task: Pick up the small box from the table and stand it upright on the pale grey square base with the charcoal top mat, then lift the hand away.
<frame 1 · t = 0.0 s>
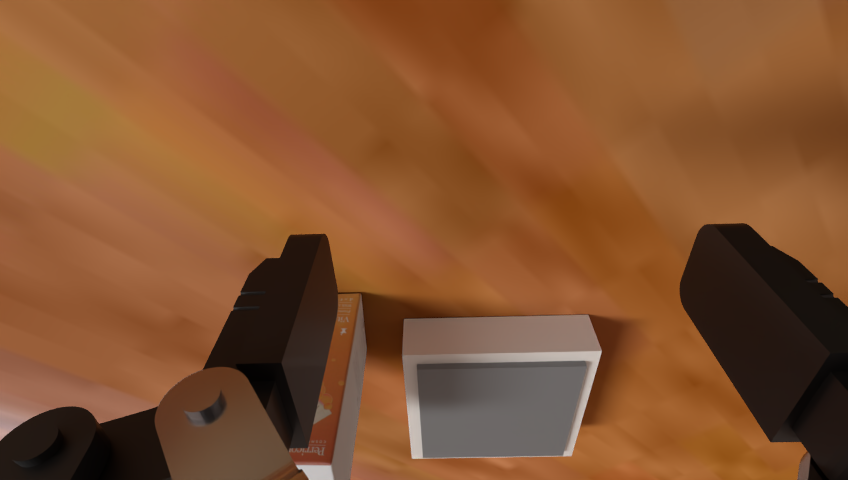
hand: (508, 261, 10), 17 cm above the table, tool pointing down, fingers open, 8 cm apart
stack base: (491, 374, 40), on the table
small box: (313, 318, 36), on the table
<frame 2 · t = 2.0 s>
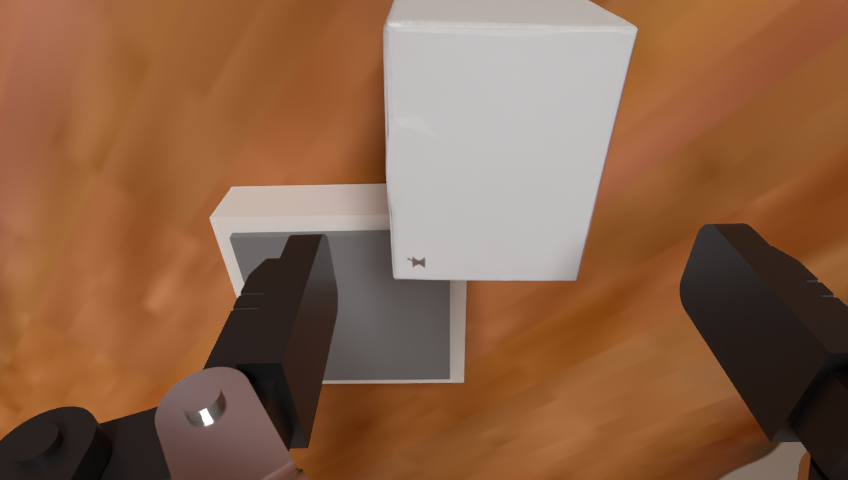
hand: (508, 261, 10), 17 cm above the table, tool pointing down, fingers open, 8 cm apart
stack base: (360, 275, 32), on the table
small box: (466, 58, 24), on the table
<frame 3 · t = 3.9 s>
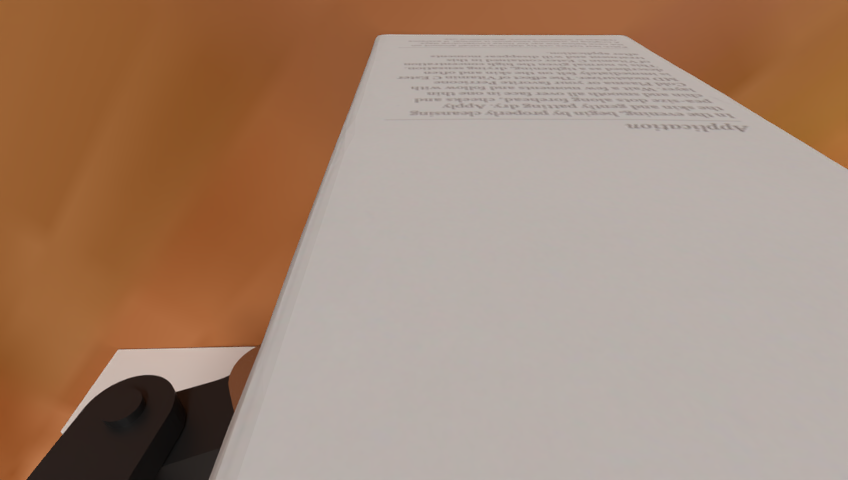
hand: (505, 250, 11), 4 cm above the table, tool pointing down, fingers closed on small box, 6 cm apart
stack base: (326, 449, 22), on the table
small box: (489, 172, 14), on the table, touching gripper
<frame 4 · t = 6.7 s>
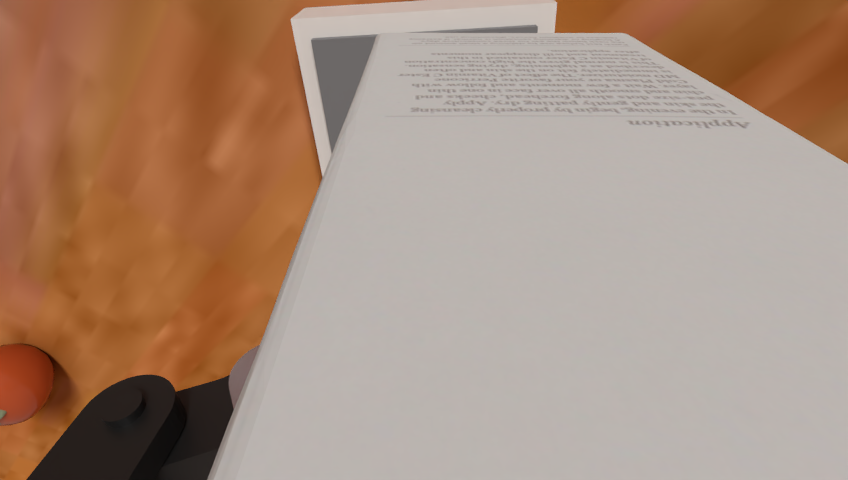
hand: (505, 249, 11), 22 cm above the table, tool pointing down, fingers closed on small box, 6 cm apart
stack base: (429, 116, 32), on the table
small box: (489, 170, 14), point 18 cm above the table, touching gripper
tomato: (31, 354, 46), on the table
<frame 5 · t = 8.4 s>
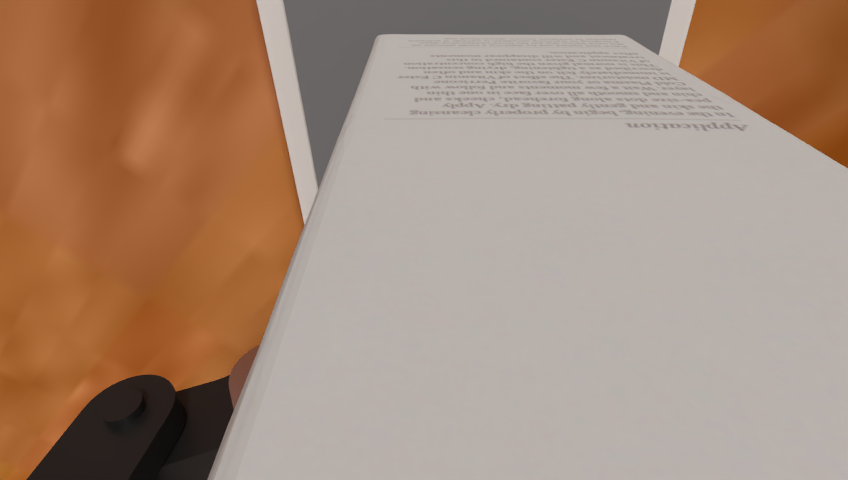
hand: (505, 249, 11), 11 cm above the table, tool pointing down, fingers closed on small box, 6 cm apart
stack base: (466, 91, 20), on the table
small box: (489, 171, 14), point 8 cm above the table, touching gripper
when the fingers open (9 cm above the table, at t = 9.8 s): small box drops 1 cm, resting on stack base.
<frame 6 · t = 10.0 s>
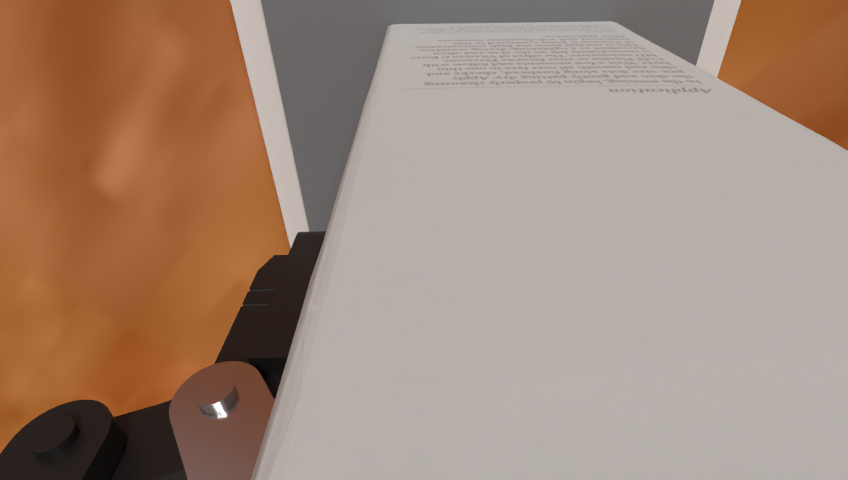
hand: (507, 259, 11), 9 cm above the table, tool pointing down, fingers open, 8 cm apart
stack base: (471, 111, 18), on the table
small box: (492, 151, 15), point 4 cm above the table, touching stack base
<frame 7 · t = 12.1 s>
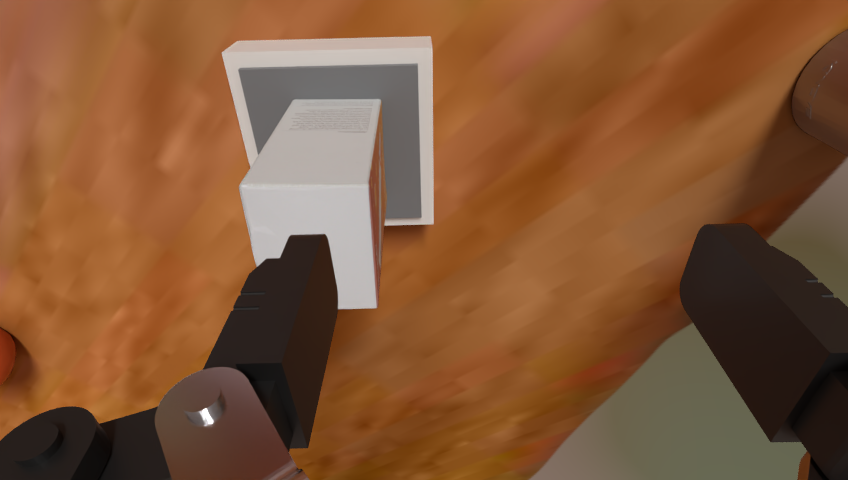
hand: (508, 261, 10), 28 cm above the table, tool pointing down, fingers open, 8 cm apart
stack base: (345, 130, 38), on the table
small box: (343, 149, 35), point 4 cm above the table, touching stack base
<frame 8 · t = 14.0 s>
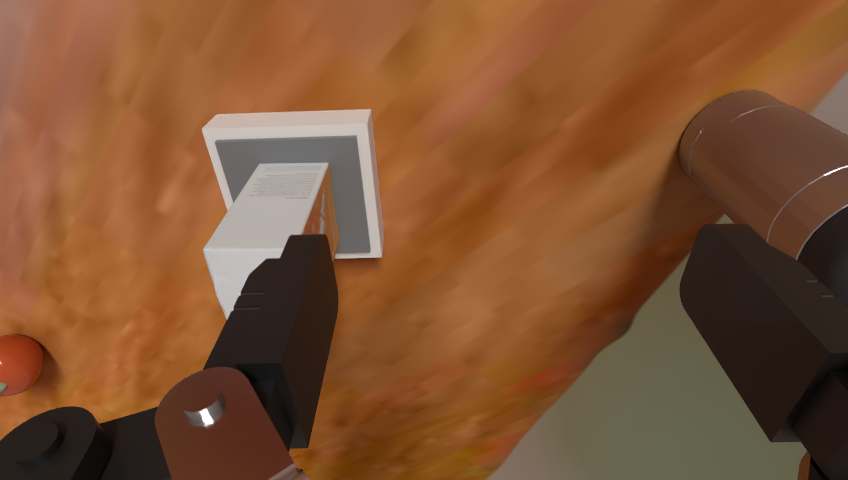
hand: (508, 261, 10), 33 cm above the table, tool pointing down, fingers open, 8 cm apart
stack base: (307, 181, 47), on the table
small box: (302, 200, 43), point 4 cm above the table, touching stack base
tomato: (26, 343, 60), on the table
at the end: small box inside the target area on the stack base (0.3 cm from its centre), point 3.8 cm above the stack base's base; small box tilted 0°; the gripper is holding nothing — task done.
